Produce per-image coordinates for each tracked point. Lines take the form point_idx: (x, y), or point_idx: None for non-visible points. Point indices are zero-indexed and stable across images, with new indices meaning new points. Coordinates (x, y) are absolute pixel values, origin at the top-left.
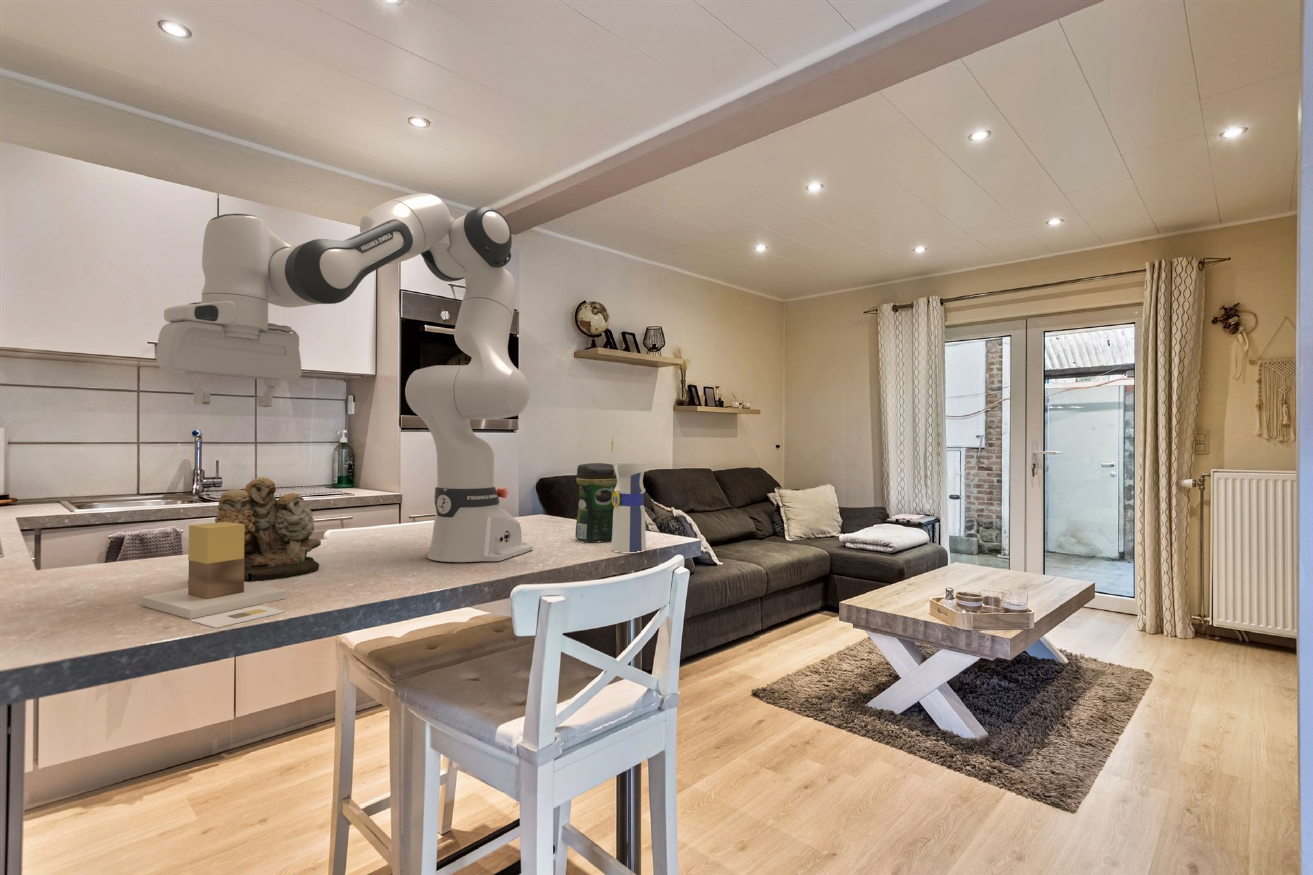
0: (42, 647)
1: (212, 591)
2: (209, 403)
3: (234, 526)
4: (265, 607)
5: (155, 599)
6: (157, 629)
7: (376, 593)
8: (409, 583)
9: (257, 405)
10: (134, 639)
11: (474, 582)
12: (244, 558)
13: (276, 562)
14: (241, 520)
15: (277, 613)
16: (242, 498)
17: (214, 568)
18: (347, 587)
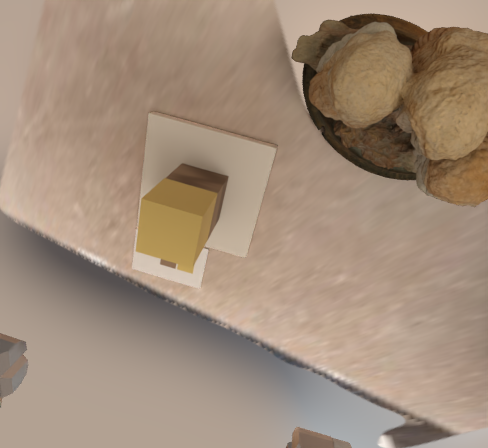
0: (24, 175)
1: None
2: (23, 375)
3: (176, 262)
4: (203, 261)
5: (147, 146)
6: (104, 221)
7: (302, 328)
8: (364, 338)
9: (296, 432)
10: (78, 229)
11: (386, 396)
12: (207, 240)
13: (365, 152)
14: (339, 119)
15: (191, 286)
16: (355, 121)
17: None
18: (322, 284)
